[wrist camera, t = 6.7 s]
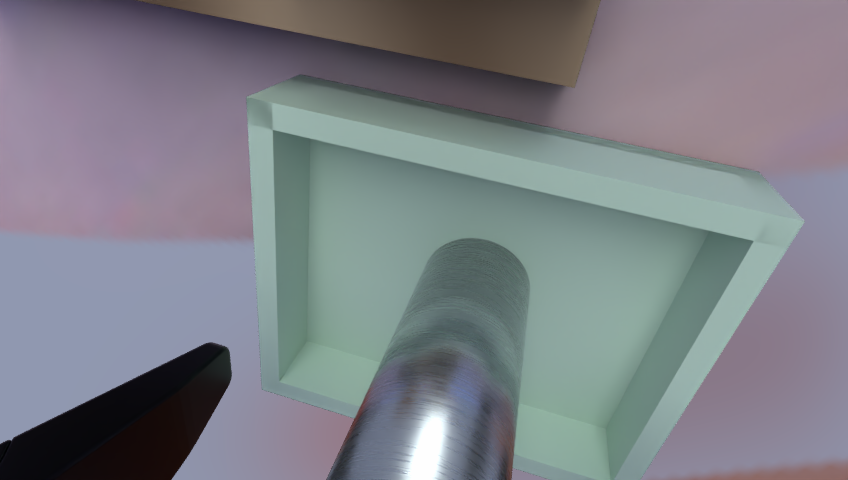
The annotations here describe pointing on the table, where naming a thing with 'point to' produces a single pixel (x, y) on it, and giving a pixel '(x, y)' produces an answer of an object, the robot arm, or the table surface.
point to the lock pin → (447, 375)
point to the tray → (523, 236)
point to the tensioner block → (436, 29)
